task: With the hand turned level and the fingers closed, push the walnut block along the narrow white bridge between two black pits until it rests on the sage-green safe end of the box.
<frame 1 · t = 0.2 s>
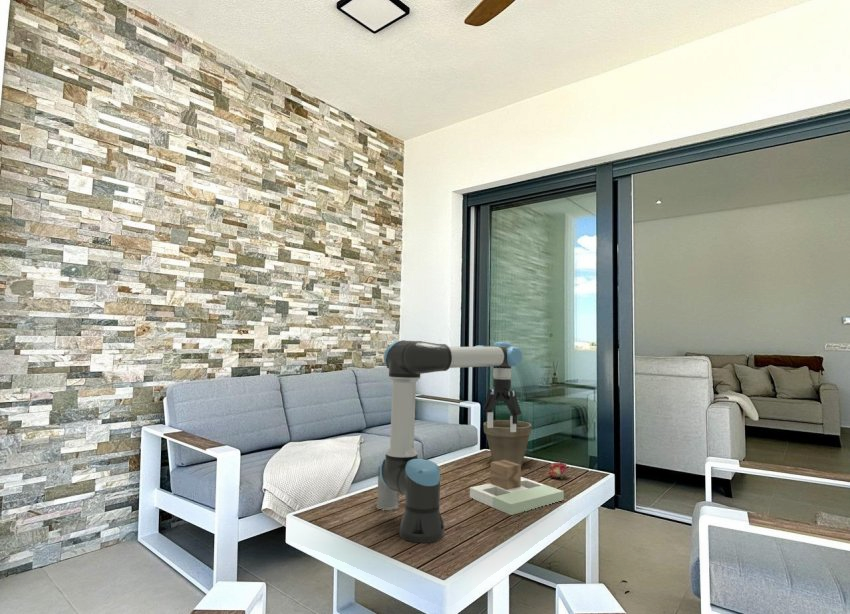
hand: (501, 429, 203), 28 cm above the table, tool pointing down, fingers open, 13 cm apart
walnut block: (505, 485, 205), point 4 cm above the table, touching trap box
glass holder: (394, 506, 189), on the table
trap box: (516, 499, 200), on the table
plant pot: (507, 465, 254), on the table
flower: (557, 478, 231), on the table
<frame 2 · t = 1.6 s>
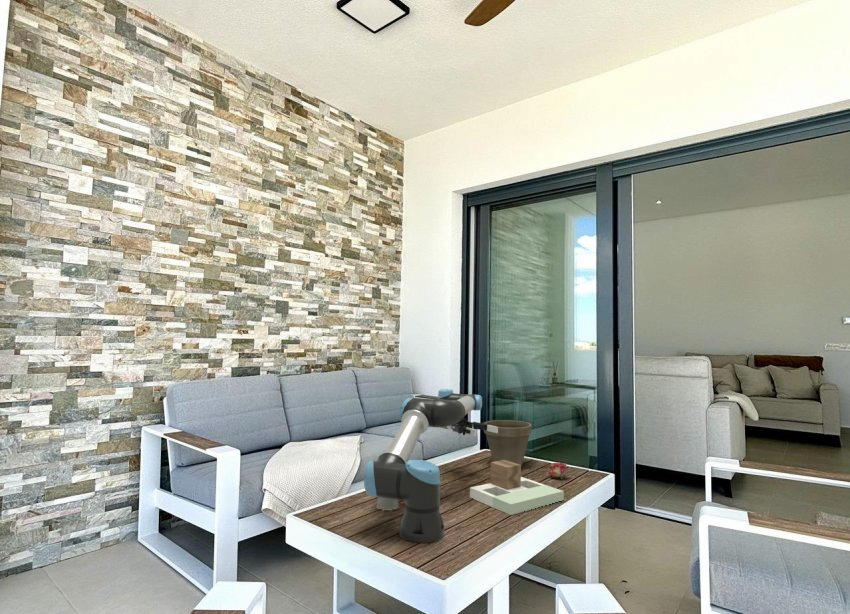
hand: (486, 431, 217), 24 cm above the table, tool horizontal, fingers open, 12 cm apart
nothing on the table moved.
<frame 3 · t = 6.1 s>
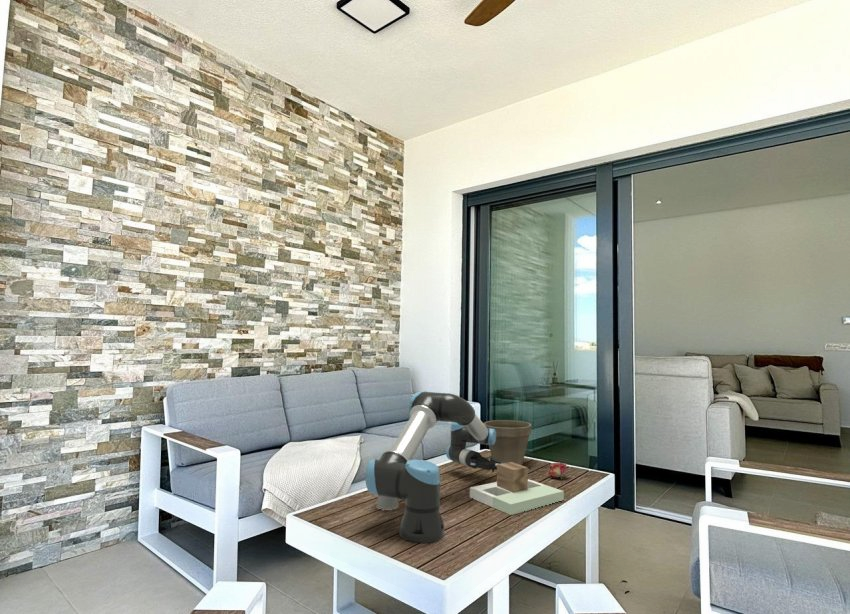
hand: (506, 470, 208), 10 cm above the table, tool horizontal, fingers closed
walnut block: (512, 487, 202), point 4 cm above the table, touching gripper, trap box
everything else where it was.
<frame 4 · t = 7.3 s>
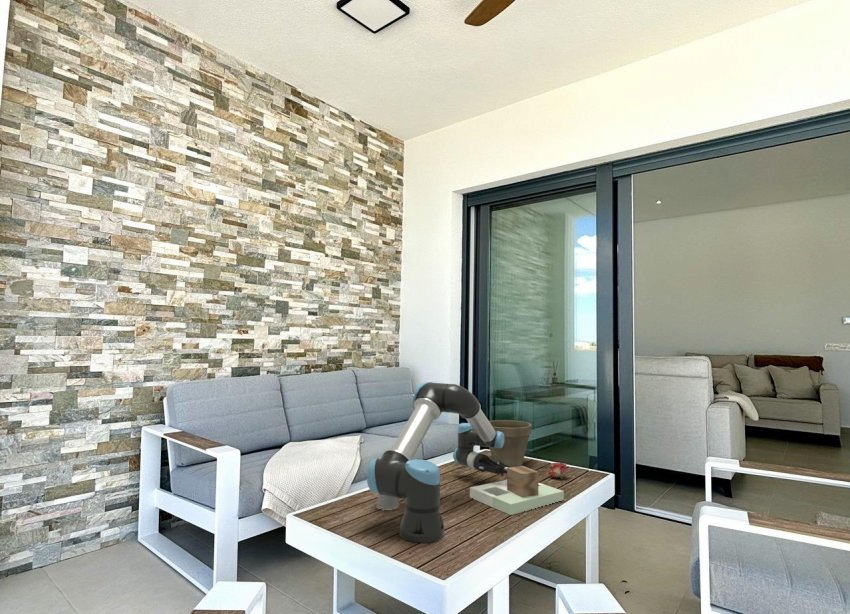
hand: (516, 474, 202), 10 cm above the table, tool horizontal, fingers closed
walnut block: (522, 492, 196), point 4 cm above the table, touching gripper
everything else where it was.
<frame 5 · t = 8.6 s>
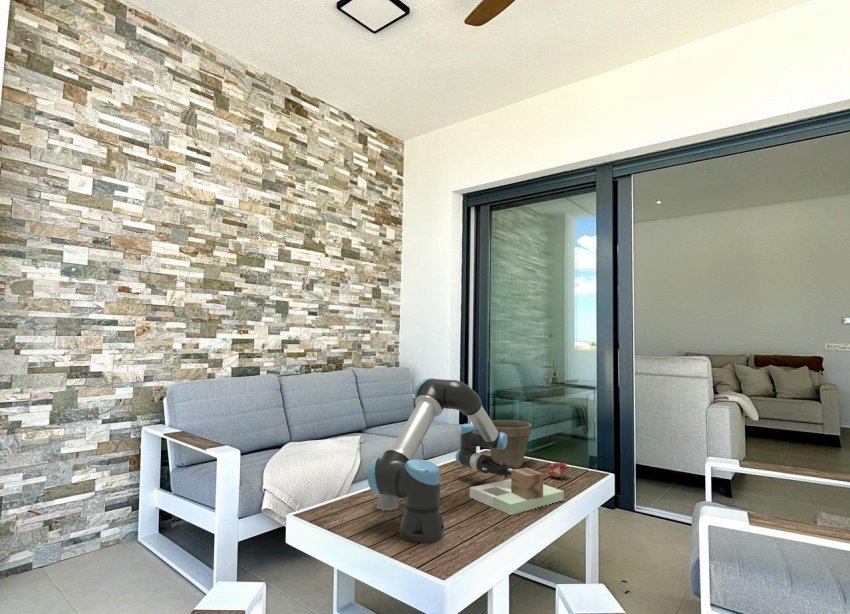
hand: (520, 475, 199), 10 cm above the table, tool horizontal, fingers closed
walnut block: (527, 494, 193), point 4 cm above the table, touching gripper, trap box
everything else where it was.
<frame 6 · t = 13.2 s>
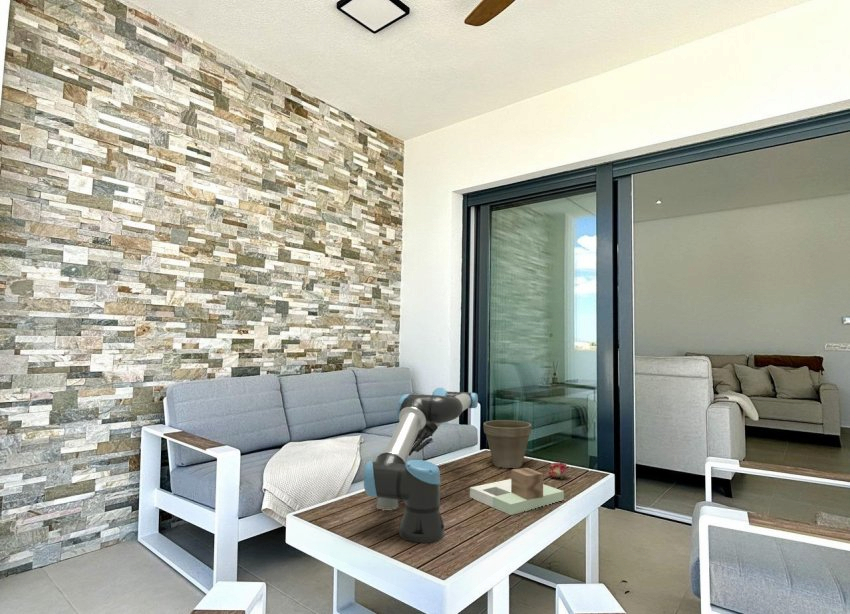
hand: (401, 458, 237), 7 cm above the table, tool tilted 45°, fingers closed
walnut block: (527, 494, 193), point 4 cm above the table, touching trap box
everything else where it was.
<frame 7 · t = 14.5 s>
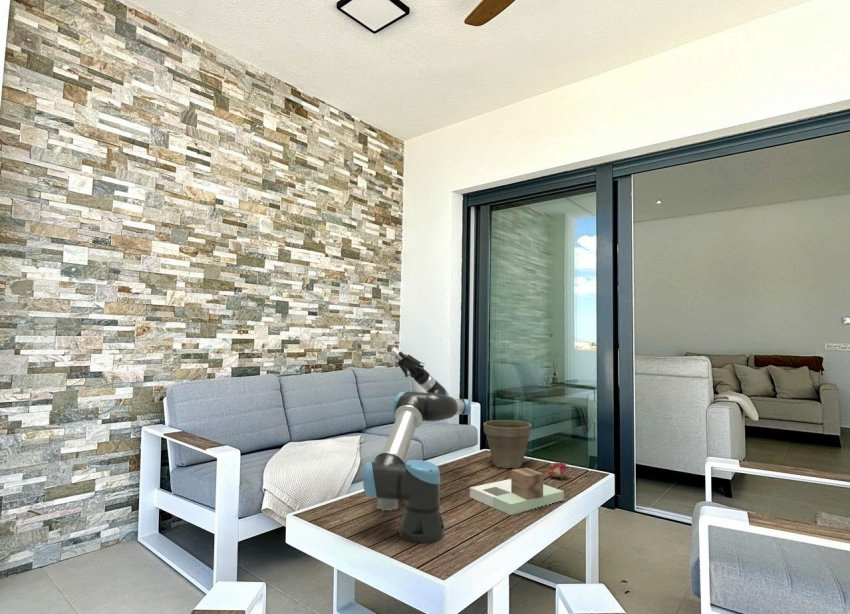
hand: (393, 349, 240), 60 cm above the table, tool pointing upward, fingers closed
nothing on the table moved.
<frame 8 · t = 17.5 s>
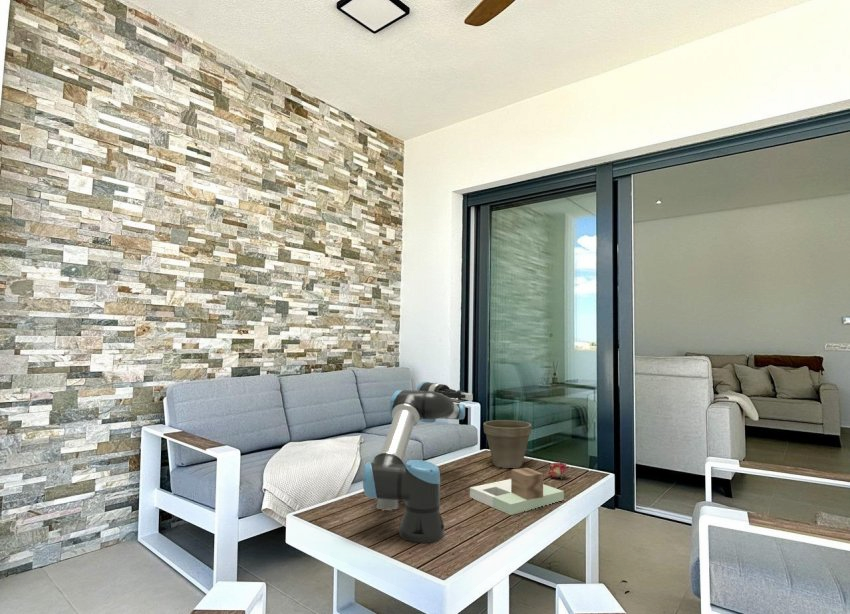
hand: (471, 397, 214), 40 cm above the table, tool horizontal, fingers closed
nothing on the table moved.
at the end: walnut block 1.5 cm from the target spot on the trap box, point 4.0 cm above the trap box's base; walnut block tilted 0° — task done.
